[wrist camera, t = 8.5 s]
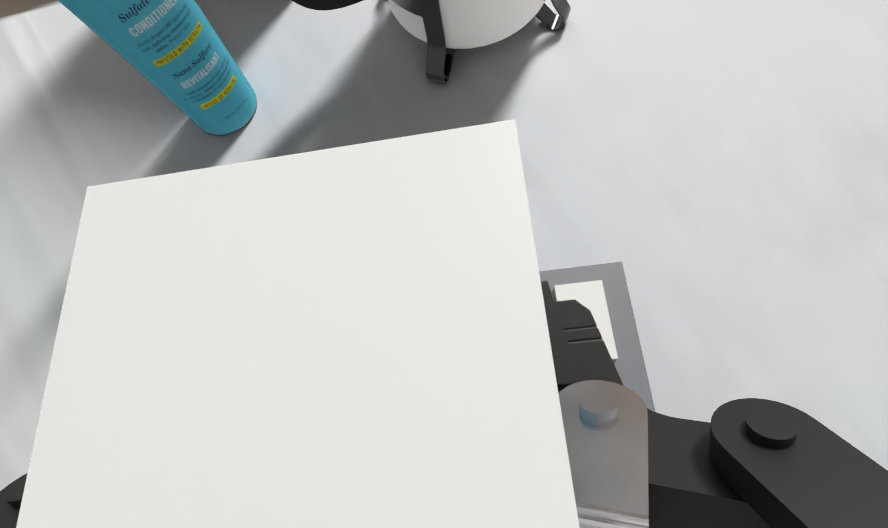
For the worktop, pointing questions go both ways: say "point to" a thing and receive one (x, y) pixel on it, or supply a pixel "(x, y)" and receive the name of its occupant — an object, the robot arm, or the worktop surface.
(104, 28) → the tube
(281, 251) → the white-topped blue pillar
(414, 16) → the coffee press
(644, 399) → the socket
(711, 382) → the worktop surface
